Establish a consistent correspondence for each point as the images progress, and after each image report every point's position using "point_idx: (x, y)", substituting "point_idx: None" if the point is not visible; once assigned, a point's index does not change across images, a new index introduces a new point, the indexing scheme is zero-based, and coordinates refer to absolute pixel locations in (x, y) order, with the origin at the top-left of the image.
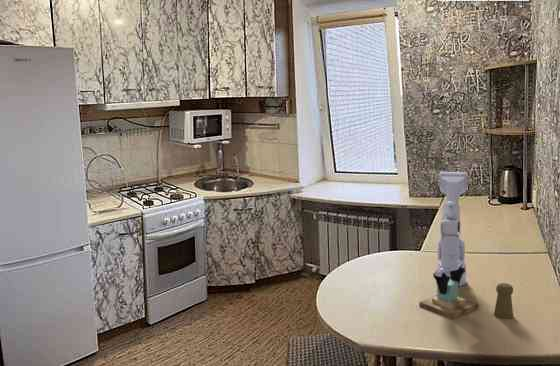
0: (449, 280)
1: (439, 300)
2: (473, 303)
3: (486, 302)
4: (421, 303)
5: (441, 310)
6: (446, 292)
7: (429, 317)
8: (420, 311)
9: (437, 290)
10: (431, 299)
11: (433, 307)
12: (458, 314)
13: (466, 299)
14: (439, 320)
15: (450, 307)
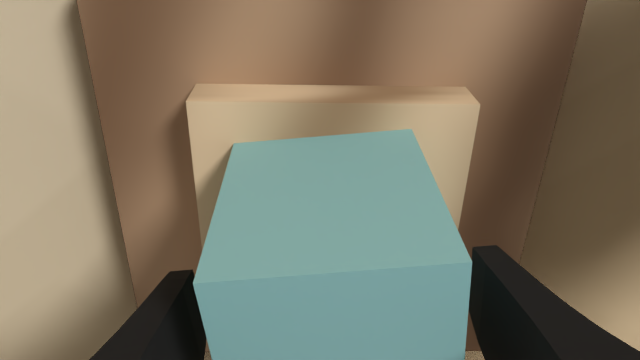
0: (420, 351)
1: (206, 196)
2: (473, 329)
3: (629, 307)
4: (83, 4)
5: (128, 259)
6: (203, 354)
7: (2, 210)
8: (4, 77)
9: (219, 199)
10: (250, 30)
11: (111, 175)
12: None
13: (518, 255)
14: (45, 286)
15: None
